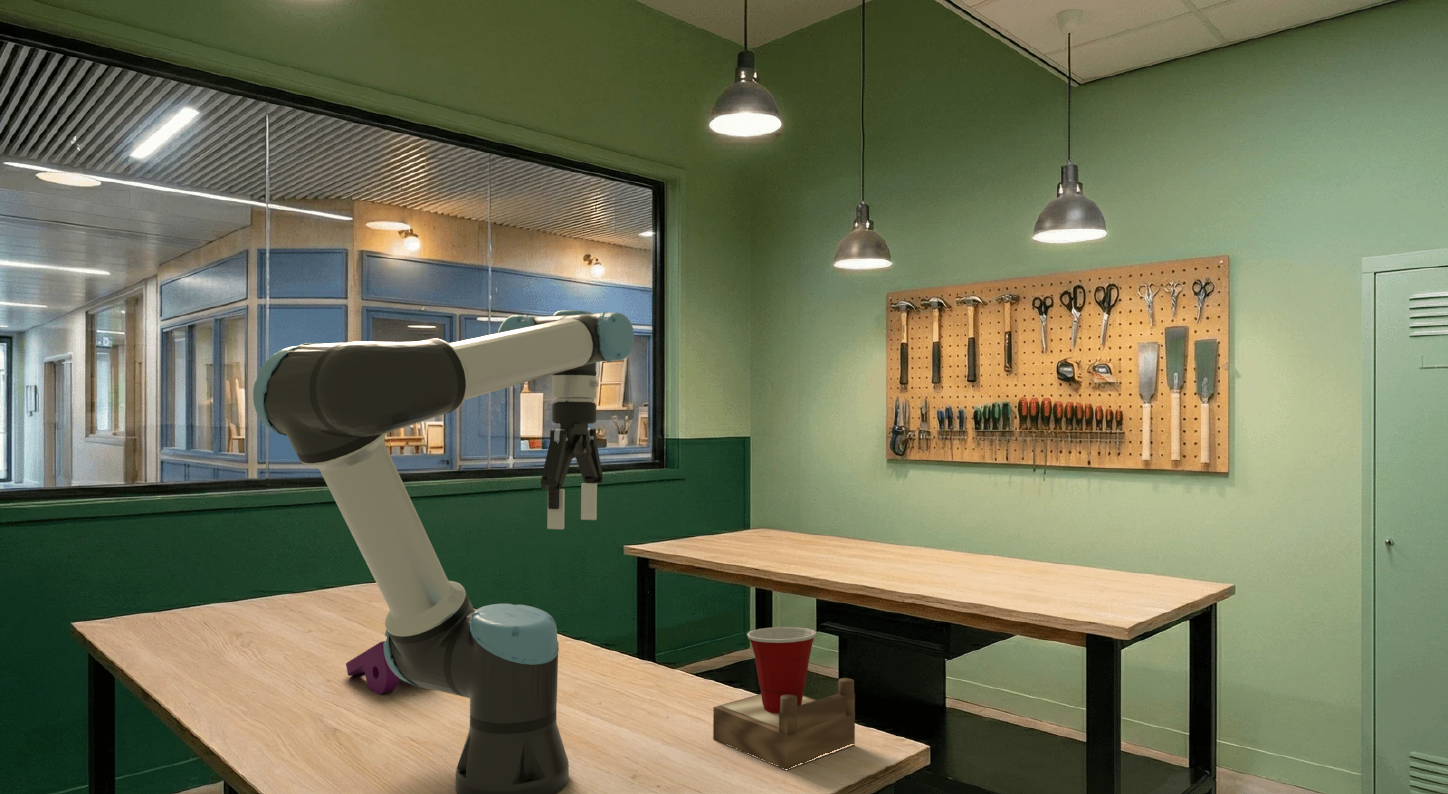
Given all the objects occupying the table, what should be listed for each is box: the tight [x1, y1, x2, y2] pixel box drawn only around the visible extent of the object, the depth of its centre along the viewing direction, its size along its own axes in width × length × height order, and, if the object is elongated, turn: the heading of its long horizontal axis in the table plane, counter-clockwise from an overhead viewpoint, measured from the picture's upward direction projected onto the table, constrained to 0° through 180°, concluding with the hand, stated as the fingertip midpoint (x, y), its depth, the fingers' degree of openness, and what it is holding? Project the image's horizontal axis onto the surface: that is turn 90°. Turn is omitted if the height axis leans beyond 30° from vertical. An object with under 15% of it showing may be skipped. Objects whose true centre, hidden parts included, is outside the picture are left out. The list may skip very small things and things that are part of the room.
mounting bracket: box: [345, 640, 413, 695], centre depth 167 cm, size 9×8×18 cm
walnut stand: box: [712, 677, 856, 770], centre depth 137 cm, size 16×15×10 cm
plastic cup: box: [746, 626, 817, 714], centre depth 138 cm, size 11×11×12 cm
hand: (572, 524), depth 153 cm, fingers open, 13 cm apart
